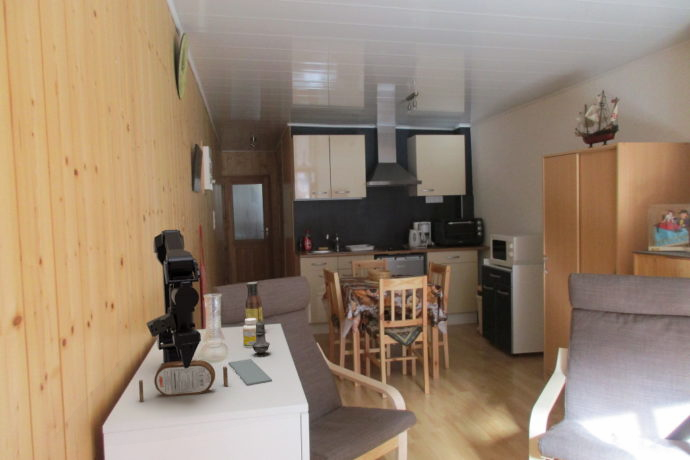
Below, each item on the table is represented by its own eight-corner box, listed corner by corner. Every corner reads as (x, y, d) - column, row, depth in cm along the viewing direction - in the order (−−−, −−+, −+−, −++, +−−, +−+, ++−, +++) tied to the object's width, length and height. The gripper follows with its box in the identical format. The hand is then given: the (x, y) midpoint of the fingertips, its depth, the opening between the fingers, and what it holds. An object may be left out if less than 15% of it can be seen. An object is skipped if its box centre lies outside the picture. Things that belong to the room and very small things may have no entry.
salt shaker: (257, 358, 156) (256, 321, 155) (248, 355, 160) (247, 318, 160) (273, 355, 160) (272, 318, 159) (264, 351, 164) (263, 315, 164)
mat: (228, 363, 151) (228, 362, 151) (250, 360, 154) (250, 358, 154) (246, 385, 132) (246, 383, 132) (272, 381, 135) (272, 379, 135)
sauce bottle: (258, 331, 193) (256, 280, 192) (266, 333, 188) (264, 282, 188) (243, 334, 189) (241, 282, 188) (251, 336, 184) (249, 284, 183)
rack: (139, 400, 123) (138, 380, 123) (226, 384, 133) (225, 366, 133) (140, 402, 122) (139, 382, 122) (227, 386, 132) (227, 367, 131)
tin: (216, 389, 130) (214, 358, 129) (214, 393, 127) (213, 361, 126) (156, 394, 128) (155, 362, 127) (153, 398, 124) (152, 365, 124)
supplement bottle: (251, 349, 167) (250, 321, 167) (240, 347, 170) (239, 319, 170) (262, 345, 171) (261, 318, 171) (251, 343, 175) (250, 316, 174)
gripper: (145, 301, 132) (147, 358, 132) (151, 313, 115) (153, 379, 115) (188, 297, 136) (190, 352, 137) (199, 308, 120) (202, 371, 120)
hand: (183, 363), depth 127 cm, fingers open, 9 cm apart
